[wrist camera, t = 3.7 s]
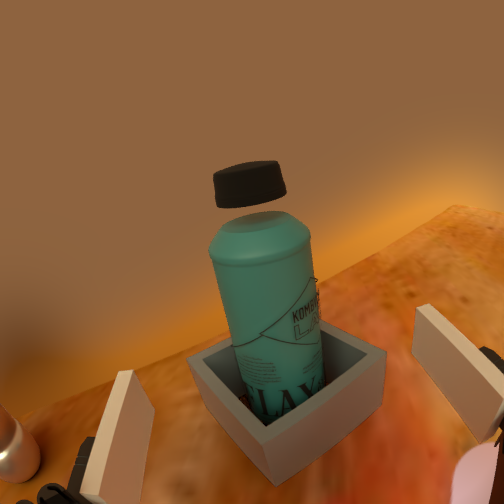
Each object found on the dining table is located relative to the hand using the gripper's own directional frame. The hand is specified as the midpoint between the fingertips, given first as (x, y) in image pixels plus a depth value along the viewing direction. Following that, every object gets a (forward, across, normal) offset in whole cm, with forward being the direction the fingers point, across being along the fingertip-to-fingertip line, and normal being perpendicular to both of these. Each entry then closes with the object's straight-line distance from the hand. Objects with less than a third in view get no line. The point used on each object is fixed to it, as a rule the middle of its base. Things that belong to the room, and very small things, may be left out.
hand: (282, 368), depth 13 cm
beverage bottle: (+8, 0, -12) cm, 14 cm away
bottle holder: (+8, 0, -12) cm, 14 cm away
